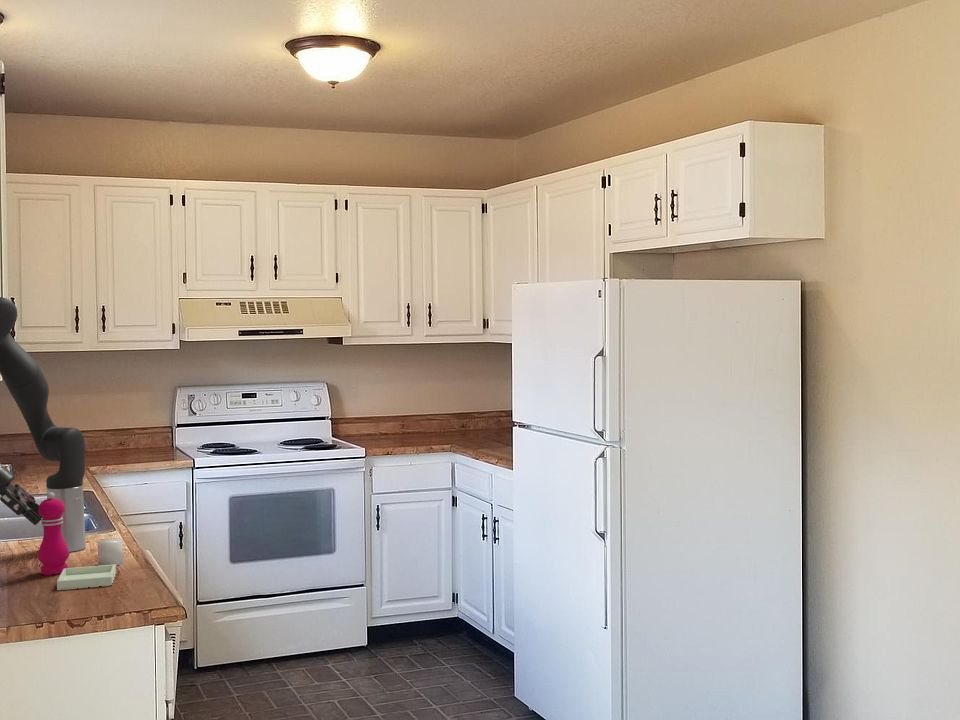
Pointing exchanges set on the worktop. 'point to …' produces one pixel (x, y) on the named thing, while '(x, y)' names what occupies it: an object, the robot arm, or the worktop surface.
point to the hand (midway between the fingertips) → (41, 518)
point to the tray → (86, 577)
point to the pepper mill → (52, 537)
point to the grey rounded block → (110, 552)
